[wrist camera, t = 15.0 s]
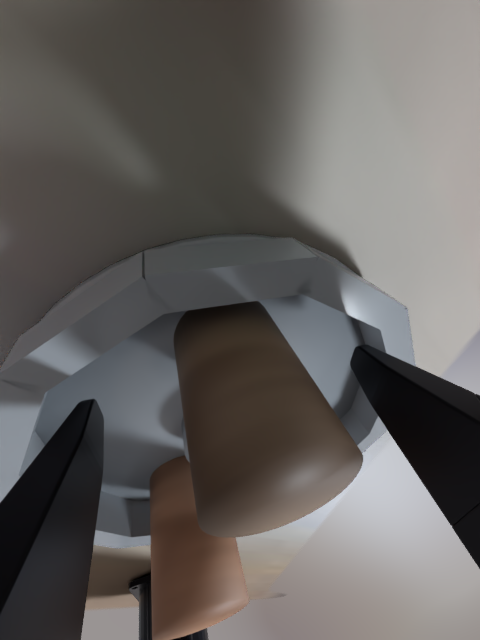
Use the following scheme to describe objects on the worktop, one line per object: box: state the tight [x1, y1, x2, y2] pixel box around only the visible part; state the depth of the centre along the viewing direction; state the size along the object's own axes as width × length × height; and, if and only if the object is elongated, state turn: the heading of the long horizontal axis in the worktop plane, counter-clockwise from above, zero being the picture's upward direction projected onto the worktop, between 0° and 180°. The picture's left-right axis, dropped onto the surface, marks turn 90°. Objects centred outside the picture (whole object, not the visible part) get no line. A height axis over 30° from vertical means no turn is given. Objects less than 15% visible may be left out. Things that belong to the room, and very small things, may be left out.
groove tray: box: [0, 234, 416, 549], centre depth 14 cm, size 18×18×2 cm
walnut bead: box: [173, 301, 363, 538], centre depth 9 cm, size 4×4×6 cm
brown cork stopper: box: [150, 456, 249, 640], centre depth 14 cm, size 4×4×6 cm
